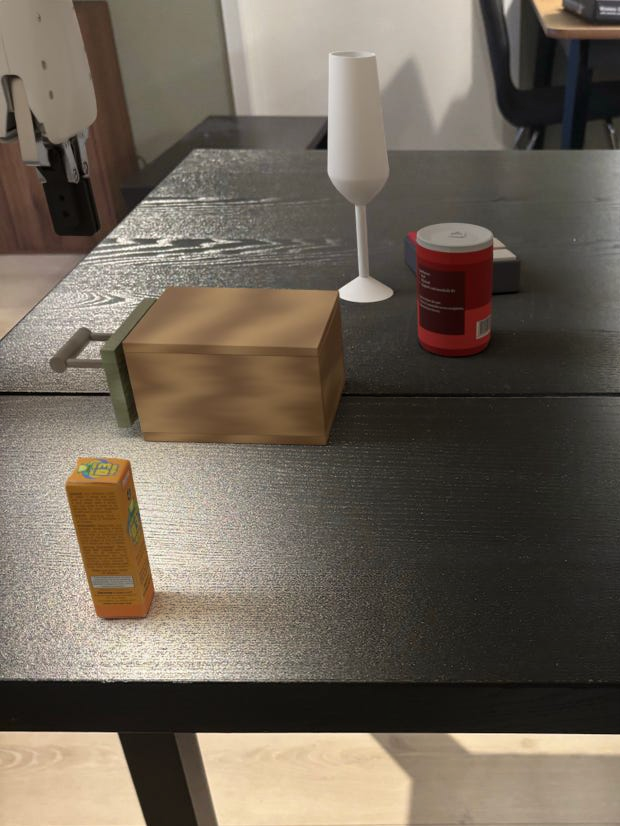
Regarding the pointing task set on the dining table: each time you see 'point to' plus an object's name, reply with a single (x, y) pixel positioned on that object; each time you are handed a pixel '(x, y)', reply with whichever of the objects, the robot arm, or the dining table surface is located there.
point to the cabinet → (238, 365)
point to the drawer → (107, 361)
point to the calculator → (503, 264)
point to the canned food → (454, 288)
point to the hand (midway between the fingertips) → (78, 232)
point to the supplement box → (110, 537)
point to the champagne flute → (357, 153)
